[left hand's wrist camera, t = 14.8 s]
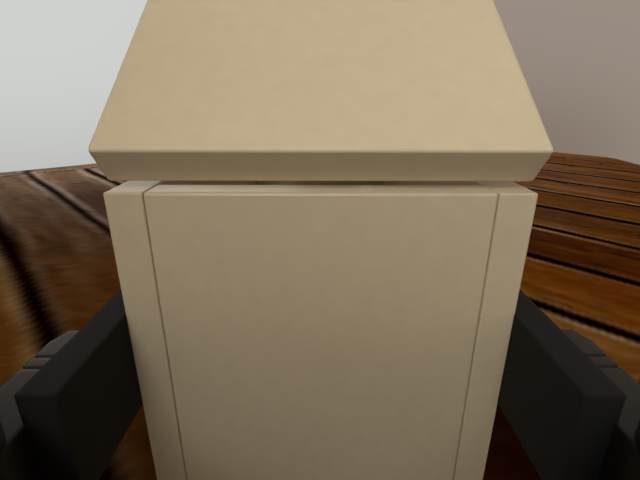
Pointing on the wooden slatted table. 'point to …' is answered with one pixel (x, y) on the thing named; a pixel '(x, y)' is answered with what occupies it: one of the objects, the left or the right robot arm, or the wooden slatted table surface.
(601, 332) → the wooden slatted table surface
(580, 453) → the left robot arm
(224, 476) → the chest
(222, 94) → the lid
